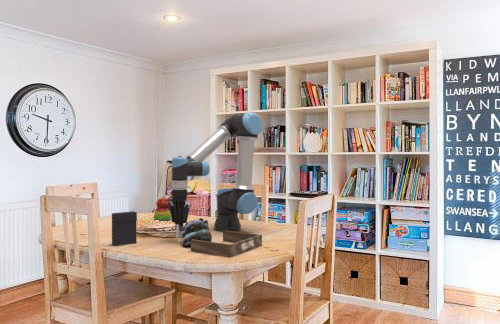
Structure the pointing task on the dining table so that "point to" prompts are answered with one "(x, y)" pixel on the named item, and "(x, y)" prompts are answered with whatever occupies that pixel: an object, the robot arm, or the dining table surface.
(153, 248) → the dining table surface
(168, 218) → the stacking bear
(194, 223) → the dark grey rounded lump
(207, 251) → the labelled bay
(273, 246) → the dining table surface
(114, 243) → the upright charcoal panel
